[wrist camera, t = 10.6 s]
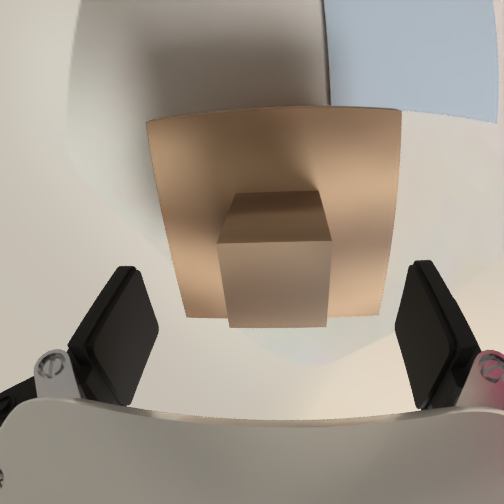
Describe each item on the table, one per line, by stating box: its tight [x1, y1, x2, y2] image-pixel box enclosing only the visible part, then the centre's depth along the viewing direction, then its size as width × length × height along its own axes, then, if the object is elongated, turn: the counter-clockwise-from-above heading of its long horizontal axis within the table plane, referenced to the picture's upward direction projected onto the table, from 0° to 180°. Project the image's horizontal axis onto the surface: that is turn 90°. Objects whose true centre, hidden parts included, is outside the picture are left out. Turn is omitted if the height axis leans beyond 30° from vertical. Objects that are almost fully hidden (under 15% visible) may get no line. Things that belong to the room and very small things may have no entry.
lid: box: [146, 106, 402, 328], centre depth 15 cm, size 12×12×6 cm
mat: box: [323, 0, 498, 124], centre depth 15 cm, size 13×13×1 cm
